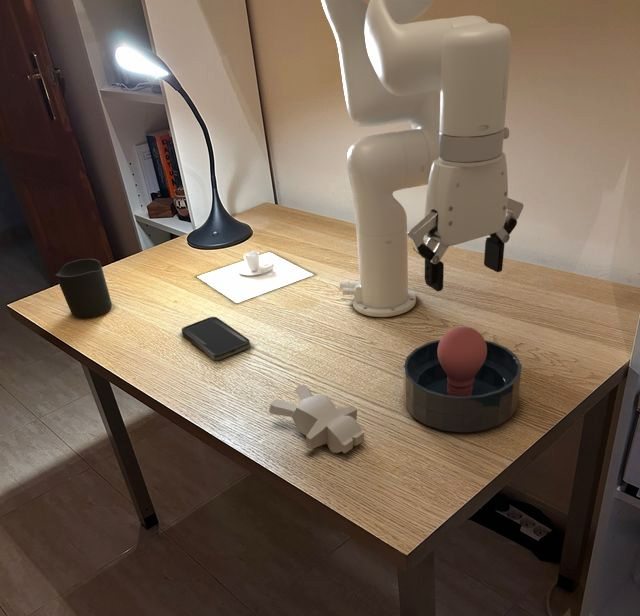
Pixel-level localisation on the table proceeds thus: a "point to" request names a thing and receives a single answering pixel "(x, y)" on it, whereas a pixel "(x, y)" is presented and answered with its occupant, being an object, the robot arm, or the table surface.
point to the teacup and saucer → (254, 276)
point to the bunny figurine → (321, 421)
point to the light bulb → (461, 358)
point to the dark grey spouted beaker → (84, 288)
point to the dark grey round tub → (461, 411)
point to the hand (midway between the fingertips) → (463, 277)
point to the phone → (215, 338)
